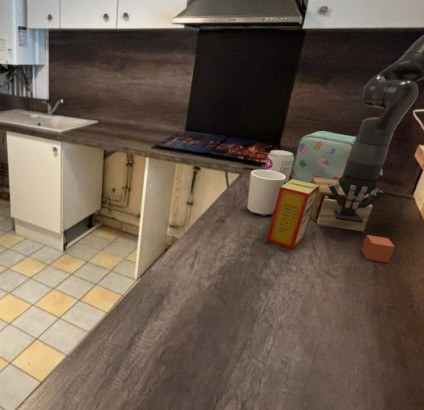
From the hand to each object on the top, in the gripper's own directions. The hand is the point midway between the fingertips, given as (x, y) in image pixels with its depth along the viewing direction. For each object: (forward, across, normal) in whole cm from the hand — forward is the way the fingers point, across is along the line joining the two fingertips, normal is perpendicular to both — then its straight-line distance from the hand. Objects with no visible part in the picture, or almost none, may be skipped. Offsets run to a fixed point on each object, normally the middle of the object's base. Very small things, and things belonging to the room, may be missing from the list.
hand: (345, 219), depth 100 cm
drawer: (+4, 0, -7) cm, 8 cm away
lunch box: (+5, -4, -40) cm, 41 cm away
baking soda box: (+5, +15, +10) cm, 18 cm away
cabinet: (+5, 0, -14) cm, 15 cm away
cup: (+5, +21, -7) cm, 22 cm away
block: (+5, -5, +11) cm, 13 cm away
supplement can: (+5, +16, -28) cm, 33 cm away
